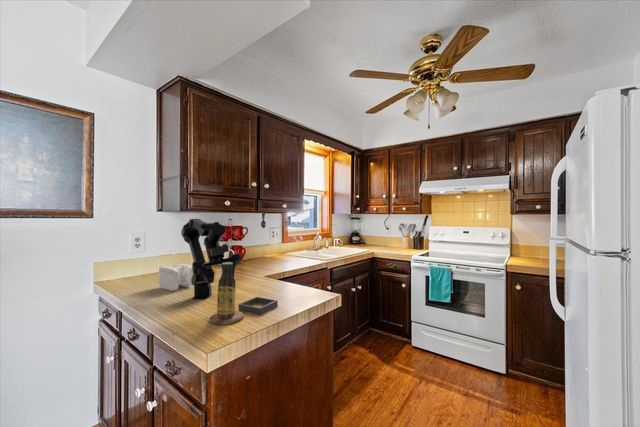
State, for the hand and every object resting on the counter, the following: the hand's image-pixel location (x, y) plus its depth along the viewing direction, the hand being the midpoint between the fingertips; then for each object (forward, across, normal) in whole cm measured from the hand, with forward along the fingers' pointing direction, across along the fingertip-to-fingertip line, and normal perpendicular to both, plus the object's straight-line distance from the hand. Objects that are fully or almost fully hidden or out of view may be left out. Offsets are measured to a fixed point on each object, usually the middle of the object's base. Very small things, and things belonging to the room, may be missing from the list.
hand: (221, 281), depth 110 cm
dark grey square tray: (+14, +12, +4) cm, 18 cm away
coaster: (+15, -2, -1) cm, 15 cm away
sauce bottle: (+14, -2, -1) cm, 15 cm away
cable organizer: (-20, -14, +43) cm, 50 cm away
